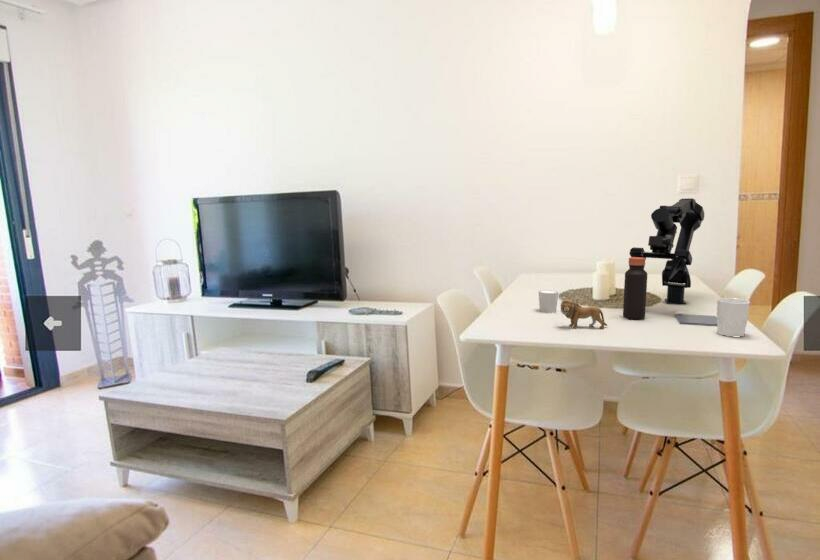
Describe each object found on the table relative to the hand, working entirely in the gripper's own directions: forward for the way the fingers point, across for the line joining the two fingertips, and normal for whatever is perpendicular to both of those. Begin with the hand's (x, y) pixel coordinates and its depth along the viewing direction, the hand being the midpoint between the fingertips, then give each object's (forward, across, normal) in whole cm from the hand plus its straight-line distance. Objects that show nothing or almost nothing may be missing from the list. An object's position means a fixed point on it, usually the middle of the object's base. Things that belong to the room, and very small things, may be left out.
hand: (654, 277), depth 170 cm
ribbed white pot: (+20, -30, -5) cm, 37 cm away
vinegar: (+15, -3, +1) cm, 15 cm away
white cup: (+17, +25, -2) cm, 30 cm away
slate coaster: (+10, +14, +8) cm, 19 cm away
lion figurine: (+28, -11, -17) cm, 35 cm away
